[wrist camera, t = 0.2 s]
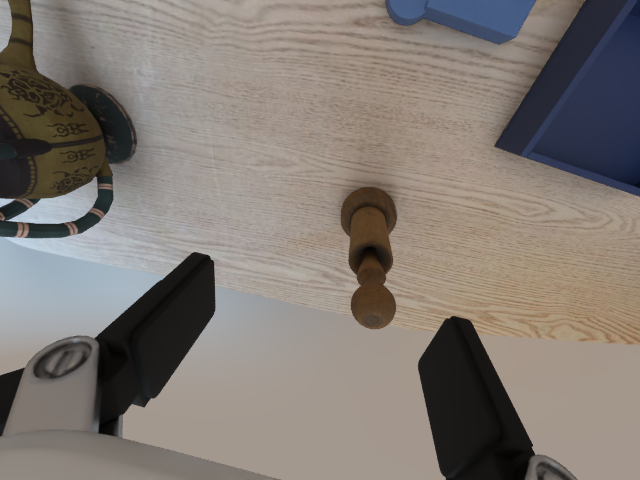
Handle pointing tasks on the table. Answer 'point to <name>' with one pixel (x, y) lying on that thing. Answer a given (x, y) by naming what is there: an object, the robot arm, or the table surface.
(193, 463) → the robot arm
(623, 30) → the blue bin
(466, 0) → the blue spoon
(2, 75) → the teapot
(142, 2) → the table surface
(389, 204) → the mortar and pestle
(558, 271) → the table surface
